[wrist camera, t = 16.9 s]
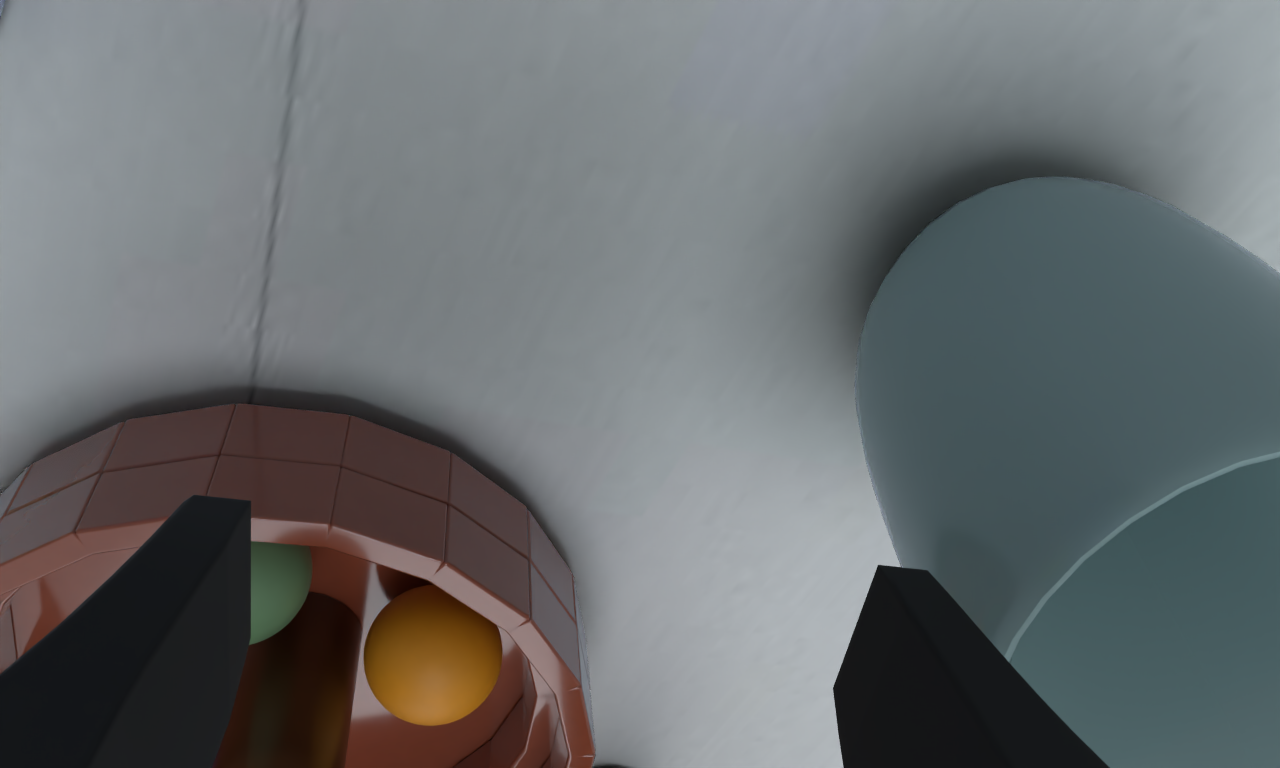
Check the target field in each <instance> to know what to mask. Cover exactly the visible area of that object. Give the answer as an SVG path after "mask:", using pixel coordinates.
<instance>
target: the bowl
mask: <svg viewBox="0 0 1280 768" xmlns="http://www.w3.org/2000/svg"><path fill="white" fill-rule="evenodd" d="M193 495H201V496H211V497H220V498H230V499H240V500H250V501H251V541H252V542H264V543H277V544H289V545H301V546H309V548H310V552H311V557H312V580H311V585H310V589H309V592H312V593H318V594H322V595H326V596H329V597H331V598H334V599H336V600H338V601H339V602H341V603H343V604H344V605H345V606H347V607H348V608H349V609H350V610H351V611H352V612H353V613H354V614H355V616H356V617H357V619H358V621H359V623H360V626H361V629H362V641H361V648H360V656H359V664H358V671H357V679H356V686H355V694H354V701H353V709H352V717H351V724H350V732H349V739H348V747H347V754H346V762H345V768H592V766H593V763H594V759H595V751H596V749H595V737H594V725H593V713H592V701H591V692H590V690H591V689H590V677H589V665H588V653H587V641H586V635H585V630H584V625H583V620H582V615H581V610H580V605H579V600H578V595H577V590H576V585H575V580H574V576H573V574H572V572H571V570H570V569H569V568H568V566H567V565H566V563H565V562H564V560H563V559H562V557H561V556H560V554H559V553H558V552H557V550H556V549H555V547H554V546H553V544H552V543H551V541H550V540H549V539H548V537H547V536H546V534H545V533H544V531H543V530H542V528H541V527H540V526H539V524H538V523H537V521H536V520H535V518H534V517H533V515H532V514H531V513H530V511H529V510H527V507H526V506H525V505H524V504H523V503H521V502H520V501H519V500H517V499H516V498H514V497H513V496H512V495H510V494H509V493H508V492H506V491H505V490H503V489H502V488H501V487H499V486H498V485H497V484H495V483H494V482H492V481H491V480H490V479H488V478H487V477H486V476H484V475H483V474H482V473H480V472H479V471H477V470H476V469H475V468H473V467H472V466H471V465H469V464H468V463H466V462H465V461H464V460H462V459H461V458H460V457H458V456H457V455H455V454H454V453H451V452H450V451H448V450H446V449H443V448H440V447H438V446H435V445H432V444H429V443H427V442H424V441H421V440H419V439H416V438H413V437H410V436H408V435H405V434H402V433H400V432H397V431H394V430H391V429H389V428H386V427H383V426H381V425H378V424H375V423H372V422H370V421H367V420H364V419H361V418H359V417H356V416H353V415H351V416H349V415H348V414H340V413H331V412H321V411H311V410H302V409H292V408H282V407H273V406H263V405H253V404H244V403H237V404H226V405H220V406H213V407H206V408H200V409H193V410H186V411H180V412H173V413H166V414H160V415H153V416H146V417H140V418H133V419H128V420H126V421H125V422H120V423H118V424H116V425H114V426H111V427H109V428H107V429H105V430H103V431H101V432H99V433H96V434H94V435H92V436H90V437H88V438H86V439H84V440H81V441H79V442H77V443H75V444H73V445H71V446H68V447H66V448H64V449H62V450H60V451H58V452H56V453H53V454H51V455H49V456H47V457H45V458H43V459H41V460H38V461H36V462H35V463H34V464H31V465H29V466H28V467H27V468H26V469H25V470H24V471H23V472H22V473H21V474H20V475H19V476H18V477H17V478H16V479H15V480H14V482H13V483H12V484H11V485H10V486H9V487H8V488H7V489H6V490H5V491H4V492H3V493H2V494H1V495H0V674H1V673H2V672H3V671H4V670H5V669H7V668H8V667H9V666H10V665H11V664H13V663H14V662H15V661H16V660H17V659H19V658H20V657H21V656H22V655H23V654H25V653H26V652H27V651H28V650H29V649H30V648H32V647H33V646H34V645H35V644H36V643H38V642H39V641H40V640H41V639H42V638H44V637H45V636H46V635H47V634H48V633H50V632H51V631H52V630H53V629H54V628H55V627H57V626H58V625H59V624H60V623H61V622H62V621H63V620H64V619H66V618H67V617H68V616H69V615H70V614H71V613H72V612H73V611H74V610H75V609H76V608H77V607H79V606H80V605H81V604H82V603H83V602H84V601H85V600H86V599H87V598H88V597H89V596H90V595H91V594H92V593H94V592H95V591H96V590H97V589H98V588H99V587H100V586H101V585H102V584H103V583H104V582H105V581H106V580H107V579H109V578H110V577H111V576H112V575H113V574H114V573H115V572H116V571H117V570H118V569H119V568H120V567H121V566H122V565H123V564H124V563H125V562H126V561H127V560H128V559H129V558H130V557H131V556H132V555H133V554H134V553H135V552H136V551H137V550H138V549H139V548H140V547H141V546H142V545H143V544H144V543H145V542H146V541H147V540H148V539H149V538H150V537H151V536H152V535H153V534H154V533H155V532H156V530H157V529H158V528H159V527H160V526H161V525H162V524H163V523H164V522H165V521H166V520H167V519H168V518H169V517H170V516H171V515H172V514H173V512H174V511H175V510H176V509H177V508H178V507H179V506H180V505H181V504H182V503H183V502H184V501H185V500H187V499H188V498H190V497H191V496H193ZM426 585H435V586H437V587H439V588H440V589H442V590H443V591H445V592H446V593H448V594H449V595H451V596H452V597H454V598H455V599H457V600H458V601H460V602H462V603H463V604H465V605H466V606H468V607H469V608H471V609H472V610H474V611H475V612H477V613H478V614H480V615H482V616H483V617H485V618H486V619H488V620H489V621H491V622H492V623H494V624H495V625H497V626H498V629H499V632H500V635H501V640H502V649H503V656H502V665H501V670H500V673H499V676H498V679H497V682H496V684H495V686H494V688H493V690H492V691H491V693H490V694H489V695H488V697H487V698H486V699H485V701H484V702H483V703H482V704H481V705H480V706H479V707H478V708H476V709H475V710H474V711H473V712H471V713H470V714H468V715H467V716H465V717H463V718H461V719H459V720H457V721H454V722H451V723H448V724H443V725H436V726H425V725H418V724H413V723H410V722H407V721H404V720H402V719H400V718H398V717H396V716H395V715H393V714H392V713H390V712H389V711H388V710H386V709H385V708H384V707H383V706H382V705H381V703H380V702H379V701H378V700H377V699H376V697H375V696H374V694H373V692H372V691H371V689H370V686H369V684H368V682H367V678H366V675H365V671H364V660H363V657H364V646H365V641H366V638H367V635H368V632H369V629H370V627H371V625H372V623H373V621H374V620H375V618H376V617H377V615H378V614H379V612H380V611H381V610H382V609H383V608H384V607H385V606H386V605H387V604H388V603H389V602H390V601H392V600H393V599H394V598H395V597H397V596H399V595H400V594H402V593H404V592H406V591H409V590H411V589H414V588H417V587H421V586H426Z"/></svg>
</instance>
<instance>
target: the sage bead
mask: <svg viewBox="0 0 1280 768" xmlns="http://www.w3.org/2000/svg"><path fill="white" fill-rule="evenodd" d="M311 580H312V557H311V552H310V548H309V546H301V545H289V544H277V543H264V542H252V541H251V639H250V643H249V645H251V644H255V643H258V642H261V641H263V640H265V639H267V638H269V637H271V636H273V635H275V634H276V633H278V632H279V631H280V630H282V629H283V628H284V627H285V626H286V625H288V624H289V623H290V622H291V621H292V619H293V618H294V617H295V616H296V614H297V613H298V612H299V610H300V609H301V607H302V605H303V604H304V602H305V600H306V597H307V595H308V592H309V589H310V585H311Z"/></svg>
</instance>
